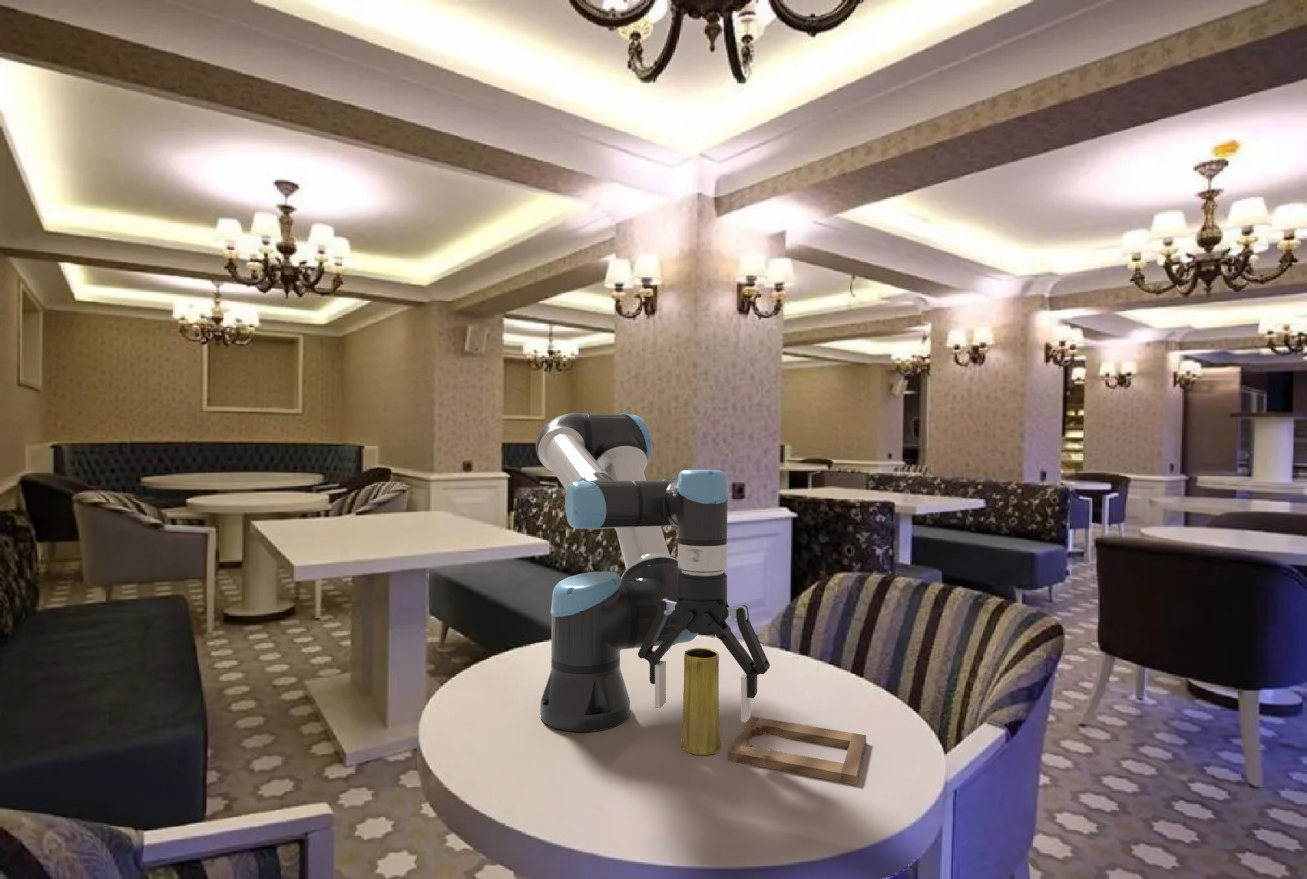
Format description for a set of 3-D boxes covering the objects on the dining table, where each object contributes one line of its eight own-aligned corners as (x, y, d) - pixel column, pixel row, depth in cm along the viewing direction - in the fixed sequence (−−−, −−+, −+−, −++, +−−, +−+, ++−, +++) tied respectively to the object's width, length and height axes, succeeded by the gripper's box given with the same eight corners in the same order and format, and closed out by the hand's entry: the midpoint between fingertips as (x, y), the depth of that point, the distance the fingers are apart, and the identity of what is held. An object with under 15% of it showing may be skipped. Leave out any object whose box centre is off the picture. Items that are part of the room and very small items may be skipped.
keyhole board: (728, 759, 99) (728, 751, 99) (752, 723, 112) (752, 716, 112) (856, 784, 92) (856, 775, 92) (866, 742, 105) (866, 735, 105)
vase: (718, 757, 100) (719, 660, 100) (677, 753, 101) (678, 657, 101) (723, 740, 106) (723, 648, 106) (684, 736, 107) (684, 645, 107)
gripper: (617, 569, 105) (617, 708, 104) (778, 581, 95) (778, 734, 95) (637, 562, 112) (636, 692, 111) (789, 572, 102) (789, 715, 102)
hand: (702, 711), depth 103 cm, fingers open, 13 cm apart
